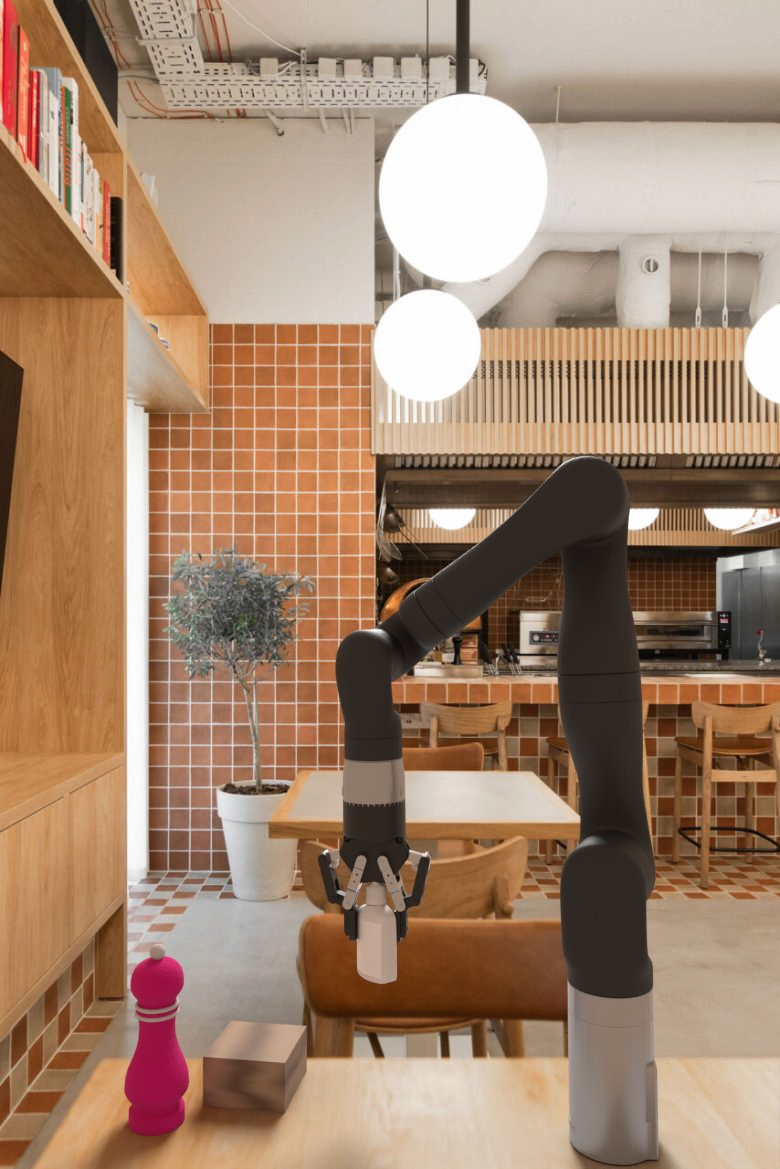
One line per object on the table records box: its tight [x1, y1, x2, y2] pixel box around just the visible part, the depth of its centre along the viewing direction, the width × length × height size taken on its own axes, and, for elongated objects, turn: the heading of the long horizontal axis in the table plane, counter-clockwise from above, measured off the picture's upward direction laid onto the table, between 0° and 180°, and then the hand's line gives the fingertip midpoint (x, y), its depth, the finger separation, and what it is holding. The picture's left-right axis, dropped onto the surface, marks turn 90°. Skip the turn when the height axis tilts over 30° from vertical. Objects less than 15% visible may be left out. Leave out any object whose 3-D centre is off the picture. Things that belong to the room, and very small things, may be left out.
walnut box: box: [202, 1020, 308, 1114], centre depth 114 cm, size 10×10×6 cm
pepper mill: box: [123, 943, 190, 1137], centre depth 107 cm, size 7×7×20 cm
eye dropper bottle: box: [356, 882, 398, 985], centre depth 111 cm, size 4×6×12 cm
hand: (376, 939), depth 111 cm, fingers closed on eye dropper bottle, 4 cm apart
